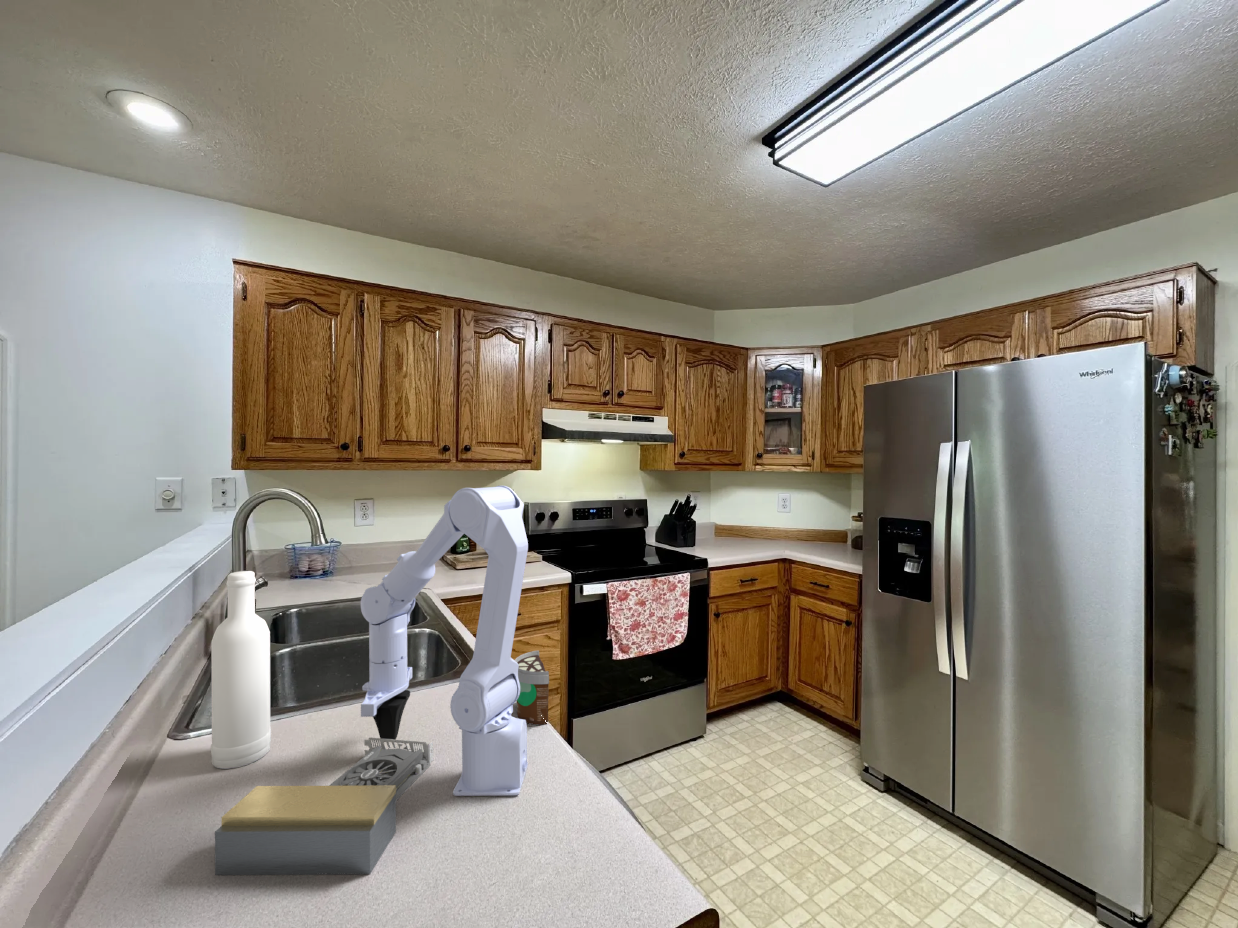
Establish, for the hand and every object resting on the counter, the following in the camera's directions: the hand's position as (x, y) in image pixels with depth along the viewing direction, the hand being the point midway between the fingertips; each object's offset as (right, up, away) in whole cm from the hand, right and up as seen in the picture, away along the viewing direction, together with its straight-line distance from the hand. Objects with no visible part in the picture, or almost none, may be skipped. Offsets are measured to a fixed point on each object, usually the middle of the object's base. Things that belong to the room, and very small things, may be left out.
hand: (388, 739), depth 86 cm
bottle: (-24, -3, 0) cm, 24 cm away
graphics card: (+1, -3, -9) cm, 9 cm away
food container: (+20, -3, +13) cm, 25 cm away
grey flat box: (0, -2, -22) cm, 22 cm away
